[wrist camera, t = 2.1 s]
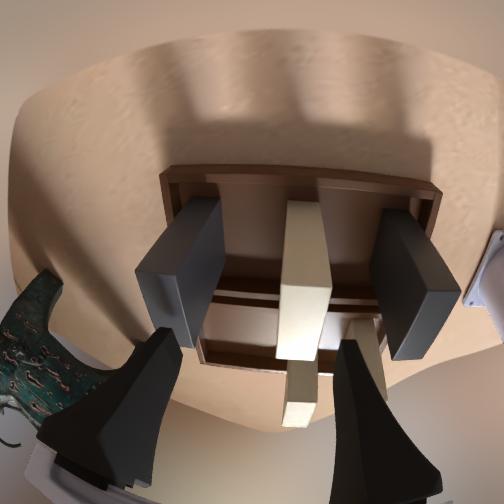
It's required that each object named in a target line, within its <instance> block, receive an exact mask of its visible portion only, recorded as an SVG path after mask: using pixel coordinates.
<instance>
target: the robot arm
mask: <svg viewBox="0 0 504 504" xmlns="http://www.w3.org/2000/svg"><path fill="white" fill-rule="evenodd" d="M500 236H501V237H500ZM462 303H463V305H464V307H475V306H485V307H486V309H487V311H488V313H489V315H490V317H491V319H492V321H493V323H494V325H495V327H496V329H497V331H498V333H499V335H500V337H501V339H502V341H503V343H504V231H503V230H495V231H494V232H493V234H492V237H491V240H490V242H489V245H488V247H487V250H486V252H485V255H484V257H483V260H482V262H481V264H480V266H479V269H478V271H477V273H476V275H475V277H474V280H473V282H472V284H471V286H470V288H469V290H468V292H467V294H466V296H465V298H464V300H463V302H462ZM182 358H183V354H182V351H181V349H180V347H179V344H178V342H177V339H176V337H175V334H174V332H173V329H172V328H167V327H159V328H158V329H157V330H156V331H155V332H154V333H153V334H152V335H151V337H150V338H149V339H148V340H147V341H146V342H145V343H144V344H143V345H142V346H141V347H140V349H139V350H138V351H137V352H136V353H135V354H134V355H133V356H132V357H131V358H130V359H129V360H128V361H127V362H126V363H125V364H124V365H123V366H122V367H121V368H120V369H119V370H118V371H117V372H116V373H115V374H113V375H112V376H111V377H110V378H109V379H108V380H107V381H105V382H104V383H103V384H102V385H100V386H99V387H98V388H97V389H95V390H94V391H92V392H91V393H90V394H88V395H87V396H85V397H84V398H82V399H81V400H79V401H77V402H76V403H74V404H72V405H70V406H69V407H67V408H65V409H63V410H61V411H59V412H56V413H54V414H52V415H50V416H47V417H45V418H44V420H43V422H42V424H41V426H40V428H39V430H38V433H37V435H36V437H37V439H39V440H40V441H41V442H43V443H44V444H46V445H47V446H49V447H50V448H52V449H53V450H55V451H57V455H56V454H55V453H53V452H51V451H50V450H49V449H47V448H46V447H44V446H42V445H41V444H39V443H37V444H36V447H35V449H34V451H33V454H32V456H31V458H30V461H29V463H28V466H27V468H26V471H25V474H24V478H25V479H27V480H28V481H29V482H30V483H31V484H32V485H34V486H35V487H36V488H37V489H38V490H40V491H41V492H42V493H43V494H44V495H45V496H46V497H48V498H49V499H50V500H51V501H52V502H53V503H54V504H160V503H156V502H154V501H151V500H148V499H145V498H143V497H140V496H137V495H135V494H132V493H130V492H127V491H125V490H124V489H125V486H127V487H130V488H133V485H134V484H135V485H138V486H141V487H143V488H147V487H150V486H151V483H152V482H151V481H152V470H153V461H154V455H155V449H156V443H157V438H158V434H159V430H160V425H161V421H162V418H163V415H164V412H165V409H166V406H167V404H168V401H169V399H170V396H171V393H172V391H173V388H174V386H175V383H176V380H177V377H178V375H179V371H180V367H181V362H182ZM333 395H334V408H335V421H336V453H335V465H334V474H333V482H332V490H331V496H330V501H329V504H426V503H427V501H426V500H427V497H430V496H433V495H436V494H439V493H441V492H442V491H443V486H442V478H441V474H440V471H439V470H438V469H437V468H436V467H435V466H433V465H432V464H431V463H430V462H429V460H428V459H426V457H425V456H424V455H423V454H422V453H421V452H420V451H419V449H418V448H417V447H416V446H415V445H414V443H413V442H412V441H411V440H410V438H409V437H408V436H407V434H406V433H405V432H404V430H403V429H402V428H401V426H400V425H399V423H398V422H397V420H396V419H395V417H394V416H393V414H392V412H391V411H390V409H389V408H388V406H387V405H386V402H385V401H384V399H383V397H382V395H381V393H380V391H379V390H378V388H377V386H376V384H375V382H374V379H373V377H372V375H371V373H370V371H369V369H368V367H367V365H366V362H365V360H364V358H363V355H362V353H361V350H360V348H359V345H358V342H357V340H355V339H341V341H340V345H339V348H338V352H337V355H336V359H335V362H334V366H333ZM442 504H453V501H448V502H445V503H442Z"/></svg>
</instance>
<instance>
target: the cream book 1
mask: <svg viewBox="0 0 504 504" xmlns="http://www.w3.org/2000/svg"><path fill="white" fill-rule="evenodd" d="M331 292H332V279H331V272H330V264H329V257H328V251H327V244H326V238H325V232H324V226H323V220H322V214H321V208H320V203H319V202H309V201H293V200H288V201H287V214H286V227H285V239H284V251H283V262H282V273H281V284H280V300H279V315H278V329H277V342H276V355H275V357H276V359H289V360H306V361H314V360H315V357H316V354H317V350H318V346H319V342H320V339H321V335H322V331H323V327H324V322H325V318H326V314H327V310H328V305H329V301H330V297H331Z"/></svg>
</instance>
